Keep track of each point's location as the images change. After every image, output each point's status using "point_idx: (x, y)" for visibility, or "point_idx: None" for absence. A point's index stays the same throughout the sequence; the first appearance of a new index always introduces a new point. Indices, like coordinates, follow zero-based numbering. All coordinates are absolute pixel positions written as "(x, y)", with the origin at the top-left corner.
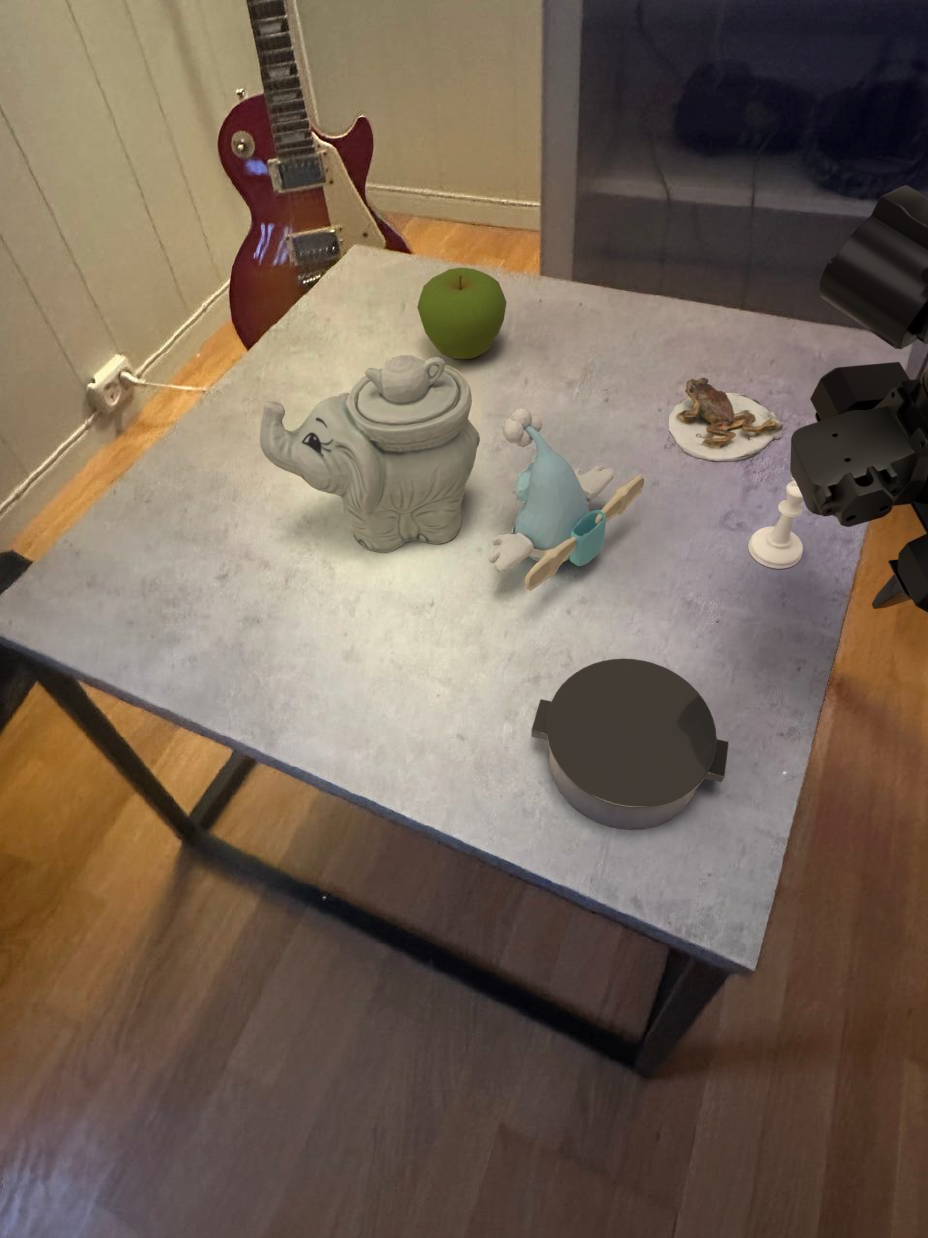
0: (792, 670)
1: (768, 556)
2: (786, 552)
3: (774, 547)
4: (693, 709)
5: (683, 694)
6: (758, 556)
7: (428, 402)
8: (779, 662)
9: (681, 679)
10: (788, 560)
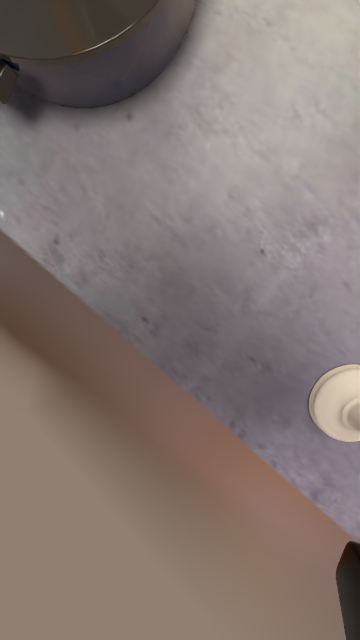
0: (145, 310)
1: (338, 382)
2: (332, 410)
3: (349, 398)
4: (38, 24)
5: (76, 18)
6: (346, 370)
7: None
8: (163, 301)
9: (111, 33)
10: (317, 405)
